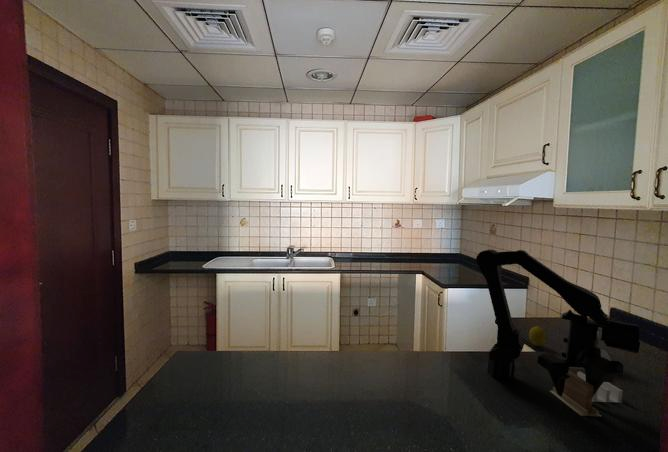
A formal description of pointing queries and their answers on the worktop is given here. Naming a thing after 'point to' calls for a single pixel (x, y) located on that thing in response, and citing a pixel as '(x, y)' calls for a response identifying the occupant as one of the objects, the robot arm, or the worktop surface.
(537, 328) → the lemon
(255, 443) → the worktop surface
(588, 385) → the board
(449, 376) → the worktop surface
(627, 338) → the robot arm
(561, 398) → the stand
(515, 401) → the worktop surface
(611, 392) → the rack
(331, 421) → the worktop surface
